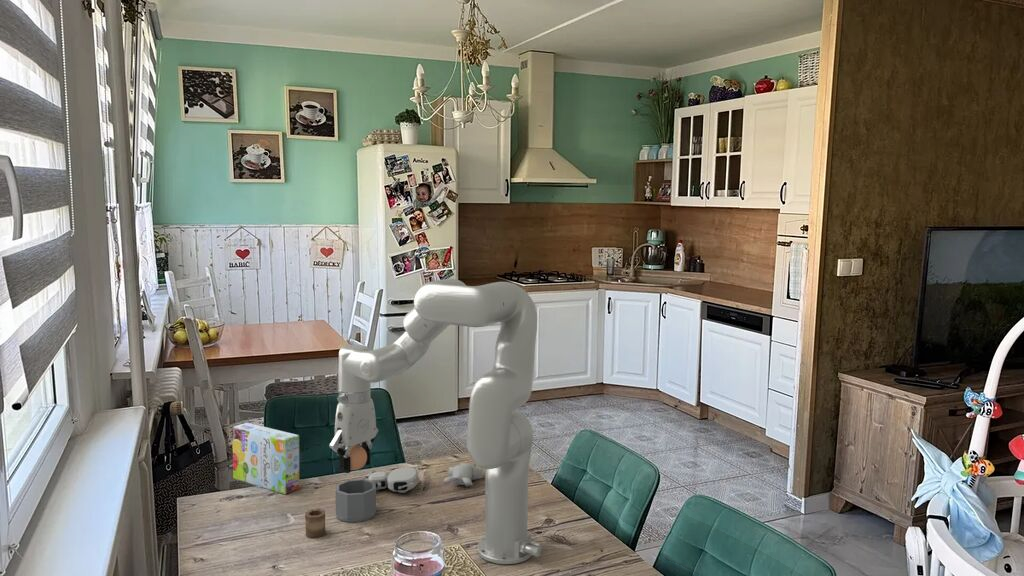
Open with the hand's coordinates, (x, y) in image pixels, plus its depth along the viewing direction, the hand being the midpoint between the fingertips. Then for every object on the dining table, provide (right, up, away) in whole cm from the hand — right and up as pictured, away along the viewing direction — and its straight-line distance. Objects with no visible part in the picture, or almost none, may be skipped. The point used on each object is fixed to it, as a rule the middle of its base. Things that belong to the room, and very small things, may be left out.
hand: (354, 466), depth 175 cm
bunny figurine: (+25, -10, +22) cm, 35 cm away
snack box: (-29, -10, +20) cm, 36 cm away
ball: (0, +2, 0) cm, 2 cm away
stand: (-7, -13, -10) cm, 18 cm away
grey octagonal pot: (0, -12, +1) cm, 12 cm away
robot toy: (+6, -11, +18) cm, 21 cm away
